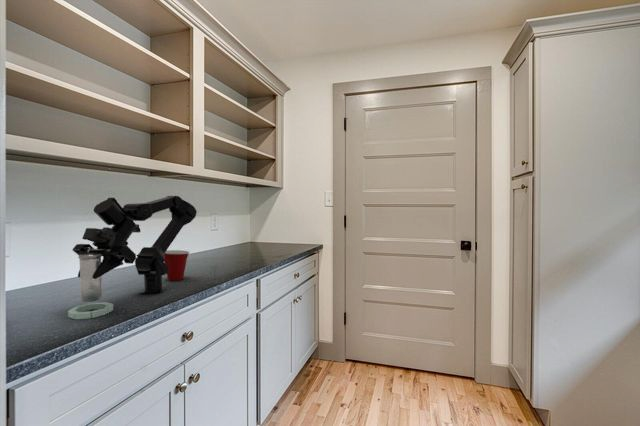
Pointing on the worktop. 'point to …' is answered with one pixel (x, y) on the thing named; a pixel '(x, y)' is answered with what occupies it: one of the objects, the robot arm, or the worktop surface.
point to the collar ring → (79, 314)
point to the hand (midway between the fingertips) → (86, 277)
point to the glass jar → (90, 277)
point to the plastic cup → (176, 264)
